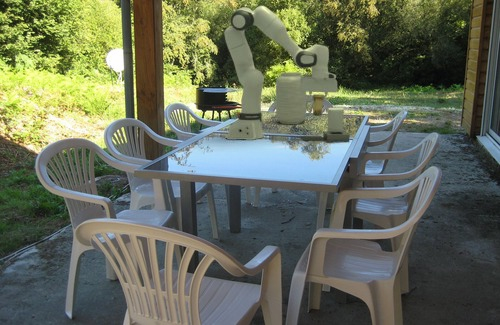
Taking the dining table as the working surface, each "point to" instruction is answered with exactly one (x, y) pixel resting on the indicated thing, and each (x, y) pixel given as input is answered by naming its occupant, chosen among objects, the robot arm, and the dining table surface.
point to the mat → (312, 138)
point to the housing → (336, 136)
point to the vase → (290, 99)
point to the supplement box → (335, 119)
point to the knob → (317, 104)
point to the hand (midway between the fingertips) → (317, 100)
